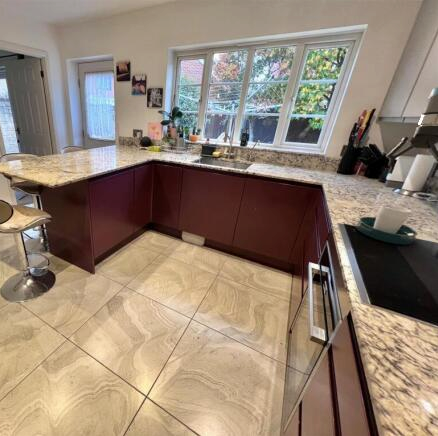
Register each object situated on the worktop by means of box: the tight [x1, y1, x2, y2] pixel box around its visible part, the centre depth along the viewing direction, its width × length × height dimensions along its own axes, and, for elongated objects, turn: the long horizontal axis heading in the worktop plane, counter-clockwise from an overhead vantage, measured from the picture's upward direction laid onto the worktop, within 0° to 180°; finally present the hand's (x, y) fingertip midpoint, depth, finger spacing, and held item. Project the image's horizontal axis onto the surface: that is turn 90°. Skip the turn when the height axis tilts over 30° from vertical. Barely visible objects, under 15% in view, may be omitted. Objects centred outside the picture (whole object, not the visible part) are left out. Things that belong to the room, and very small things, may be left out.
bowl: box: [355, 216, 418, 246], centre depth 100 cm, size 18×18×4 cm
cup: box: [373, 203, 412, 234], centre depth 98 cm, size 9×9×12 cm
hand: (409, 175), depth 107 cm, fingers open, 13 cm apart
